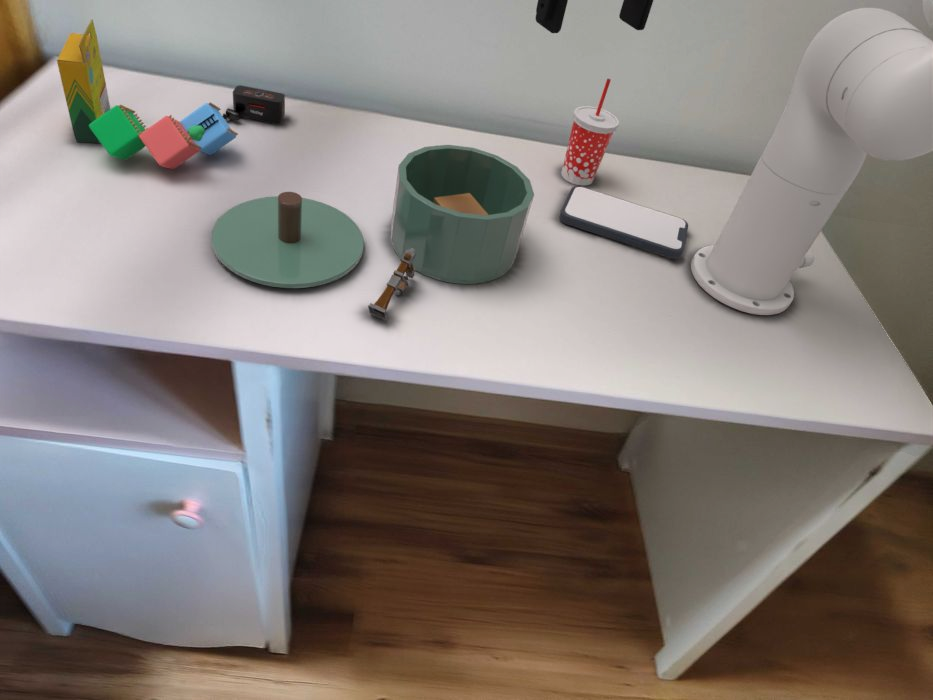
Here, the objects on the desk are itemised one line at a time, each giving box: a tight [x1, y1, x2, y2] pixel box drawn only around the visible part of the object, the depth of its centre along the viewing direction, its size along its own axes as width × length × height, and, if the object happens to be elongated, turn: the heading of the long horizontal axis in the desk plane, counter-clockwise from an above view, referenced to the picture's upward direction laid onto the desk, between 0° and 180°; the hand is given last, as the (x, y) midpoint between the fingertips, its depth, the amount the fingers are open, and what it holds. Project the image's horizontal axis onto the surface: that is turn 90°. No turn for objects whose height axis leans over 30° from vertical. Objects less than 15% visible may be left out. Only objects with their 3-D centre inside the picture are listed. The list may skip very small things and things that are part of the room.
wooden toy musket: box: [367, 248, 416, 322], centre depth 70 cm, size 2×8×4 cm, turn 157°
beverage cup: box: [560, 78, 620, 187], centre depth 92 cm, size 6×6×14 cm
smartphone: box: [558, 185, 689, 260], centre depth 89 cm, size 9×2×16 cm
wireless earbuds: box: [222, 85, 286, 125], centre depth 91 cm, size 5×7×3 cm, turn 87°
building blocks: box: [89, 101, 239, 170], centre depth 80 cm, size 8×8×12 cm
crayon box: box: [56, 19, 112, 144], centre depth 80 cm, size 7×3×12 cm, turn 10°
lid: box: [211, 191, 365, 289], centre depth 72 cm, size 16×16×6 cm
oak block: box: [433, 193, 488, 215], centre depth 78 cm, size 5×5×5 cm
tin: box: [389, 144, 535, 285], centre depth 77 cm, size 15×15×8 cm
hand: (590, 26), depth 64 cm, fingers open, 9 cm apart
